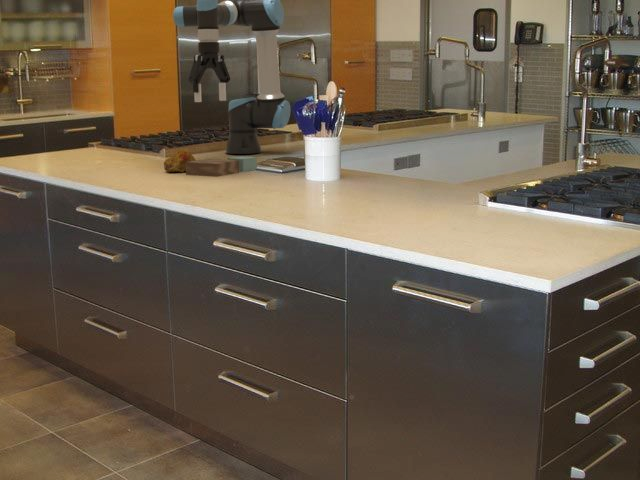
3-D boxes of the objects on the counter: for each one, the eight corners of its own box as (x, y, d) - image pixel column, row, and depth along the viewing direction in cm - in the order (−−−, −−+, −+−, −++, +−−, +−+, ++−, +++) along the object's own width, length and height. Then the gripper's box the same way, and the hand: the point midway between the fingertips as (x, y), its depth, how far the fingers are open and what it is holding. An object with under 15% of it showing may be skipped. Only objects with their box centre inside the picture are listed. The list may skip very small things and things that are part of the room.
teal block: (241, 169, 345) (240, 156, 344) (257, 170, 340) (256, 157, 339) (227, 171, 338) (227, 158, 337) (243, 172, 334) (243, 159, 333)
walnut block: (209, 171, 338) (208, 158, 337) (239, 173, 331) (239, 160, 330) (186, 175, 326) (185, 162, 325) (216, 177, 319) (216, 163, 319)
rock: (187, 182, 332) (166, 166, 328) (178, 184, 339) (157, 169, 335) (202, 158, 335) (181, 142, 331) (193, 161, 342) (172, 145, 338)
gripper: (223, 42, 332) (224, 99, 336) (176, 41, 312) (179, 102, 316) (238, 42, 328) (240, 100, 332) (192, 40, 308) (195, 102, 312)
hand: (210, 101), depth 324 cm, fingers open, 13 cm apart
